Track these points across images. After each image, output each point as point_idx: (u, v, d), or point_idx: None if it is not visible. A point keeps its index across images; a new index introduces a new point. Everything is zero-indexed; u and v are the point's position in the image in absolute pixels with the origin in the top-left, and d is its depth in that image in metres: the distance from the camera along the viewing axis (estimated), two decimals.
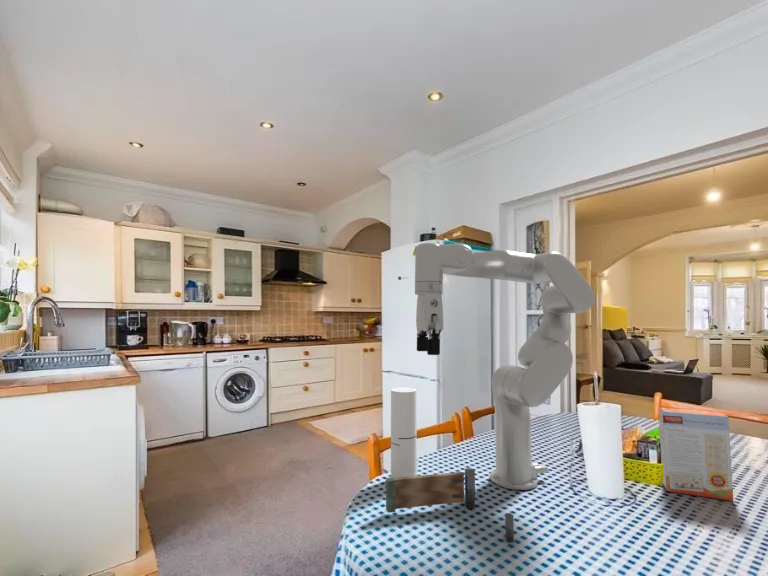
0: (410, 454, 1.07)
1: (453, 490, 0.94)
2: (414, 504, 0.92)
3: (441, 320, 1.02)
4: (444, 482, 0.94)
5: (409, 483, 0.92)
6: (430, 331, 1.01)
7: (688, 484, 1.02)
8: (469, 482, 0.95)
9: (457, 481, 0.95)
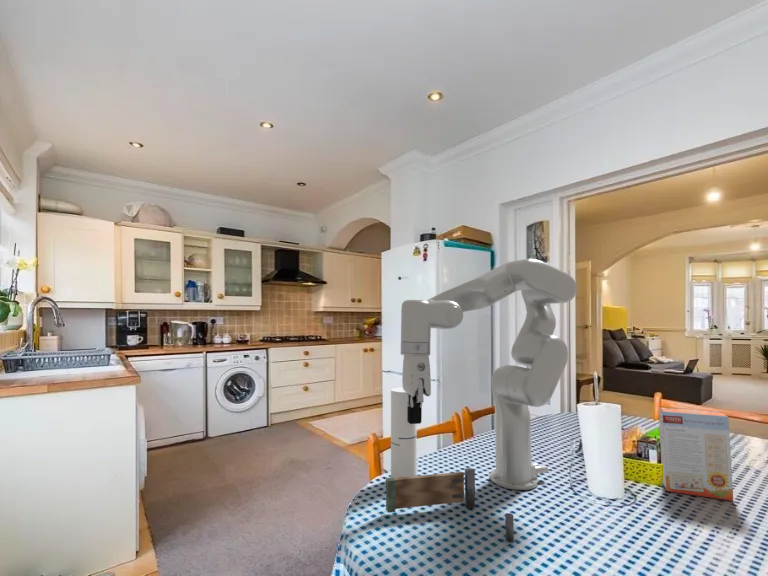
0: (410, 454, 1.07)
1: (453, 490, 0.94)
2: (414, 504, 0.92)
3: (428, 385, 0.95)
4: (444, 482, 0.94)
5: (409, 483, 0.92)
6: (413, 401, 0.97)
7: (688, 484, 1.02)
8: (469, 482, 0.95)
9: (457, 481, 0.95)
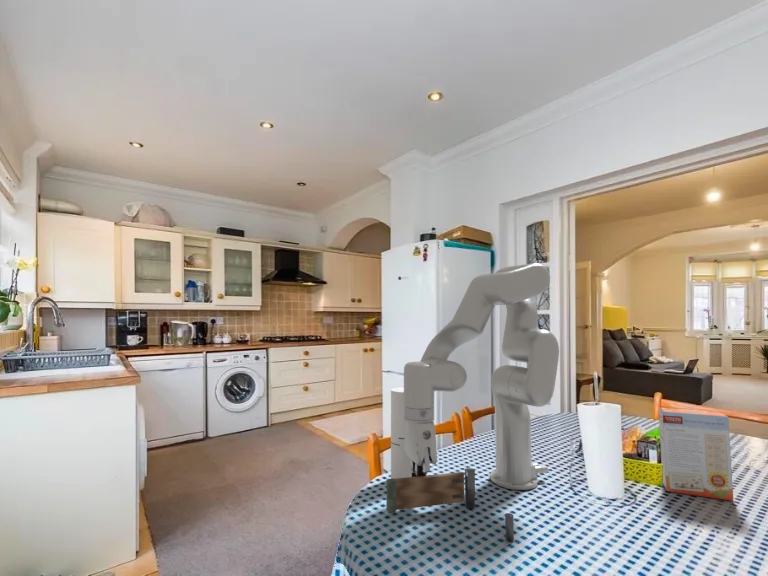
0: None
1: (453, 490, 0.94)
2: (415, 505, 0.92)
3: (435, 453, 0.93)
4: (445, 482, 0.94)
5: (410, 484, 0.92)
6: (418, 469, 0.94)
7: (688, 484, 1.02)
8: (469, 482, 0.95)
9: (457, 481, 0.94)
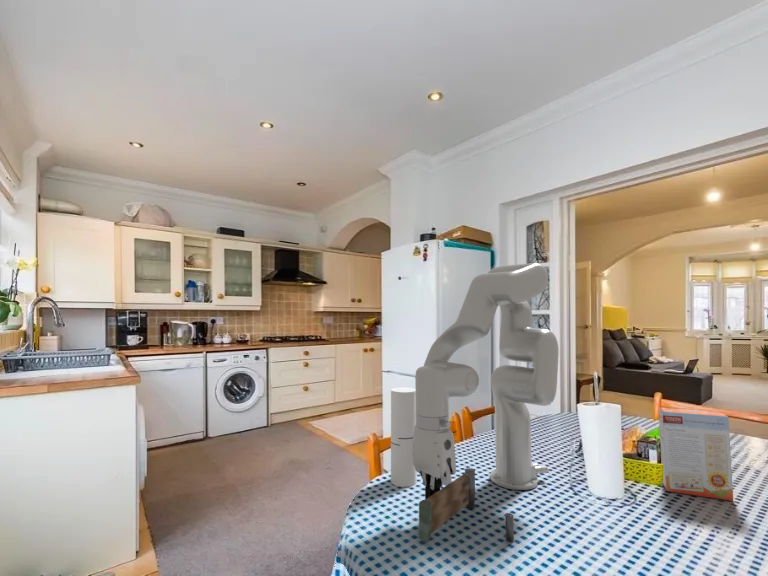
0: (410, 454, 1.07)
1: (463, 495, 0.92)
2: (441, 522, 0.84)
3: (454, 463, 0.87)
4: (458, 488, 0.90)
5: (438, 500, 0.84)
6: (435, 482, 0.87)
7: (688, 484, 1.02)
8: (469, 482, 0.95)
9: (465, 484, 0.93)
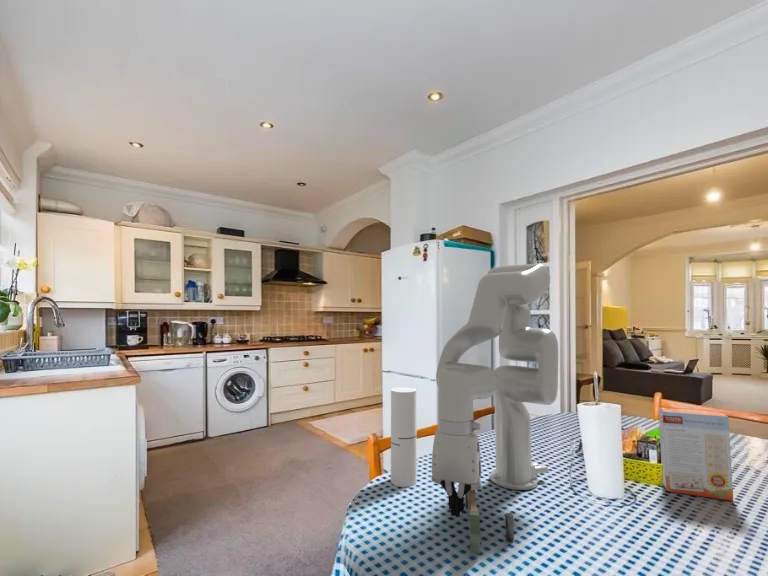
0: (410, 454, 1.07)
1: None
2: None
3: None
4: None
5: None
6: (464, 489, 0.84)
7: (688, 484, 1.02)
8: None
9: None
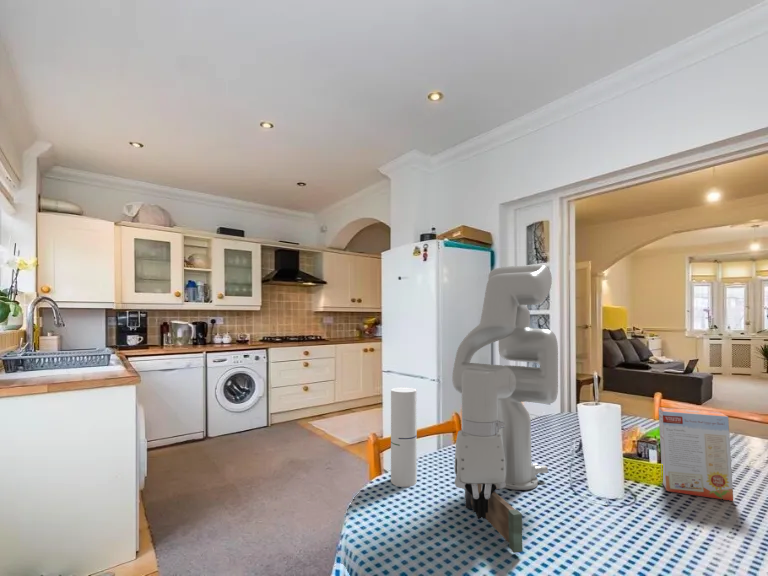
0: (410, 454, 1.07)
1: None
2: None
3: None
4: None
5: None
6: (490, 489, 0.83)
7: (688, 484, 1.02)
8: None
9: None
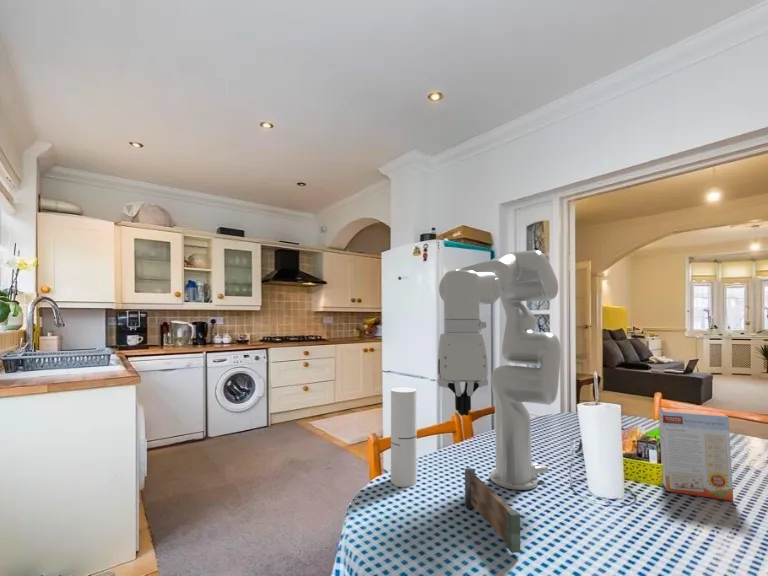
0: (410, 454, 1.07)
1: None
2: None
3: None
4: None
5: None
6: None
7: (688, 484, 1.02)
8: (469, 482, 0.95)
9: None
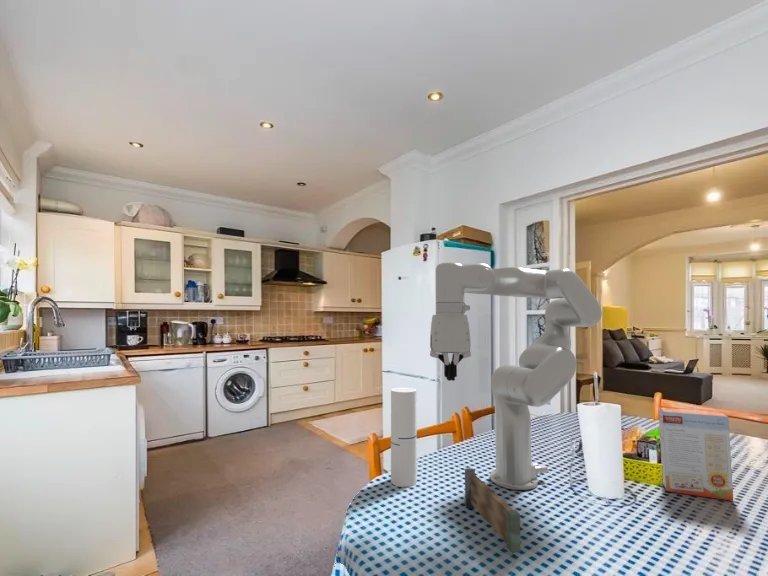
0: (410, 454, 1.07)
1: None
2: None
3: None
4: None
5: None
6: (458, 358, 1.03)
7: (688, 484, 1.02)
8: (469, 482, 0.95)
9: None
